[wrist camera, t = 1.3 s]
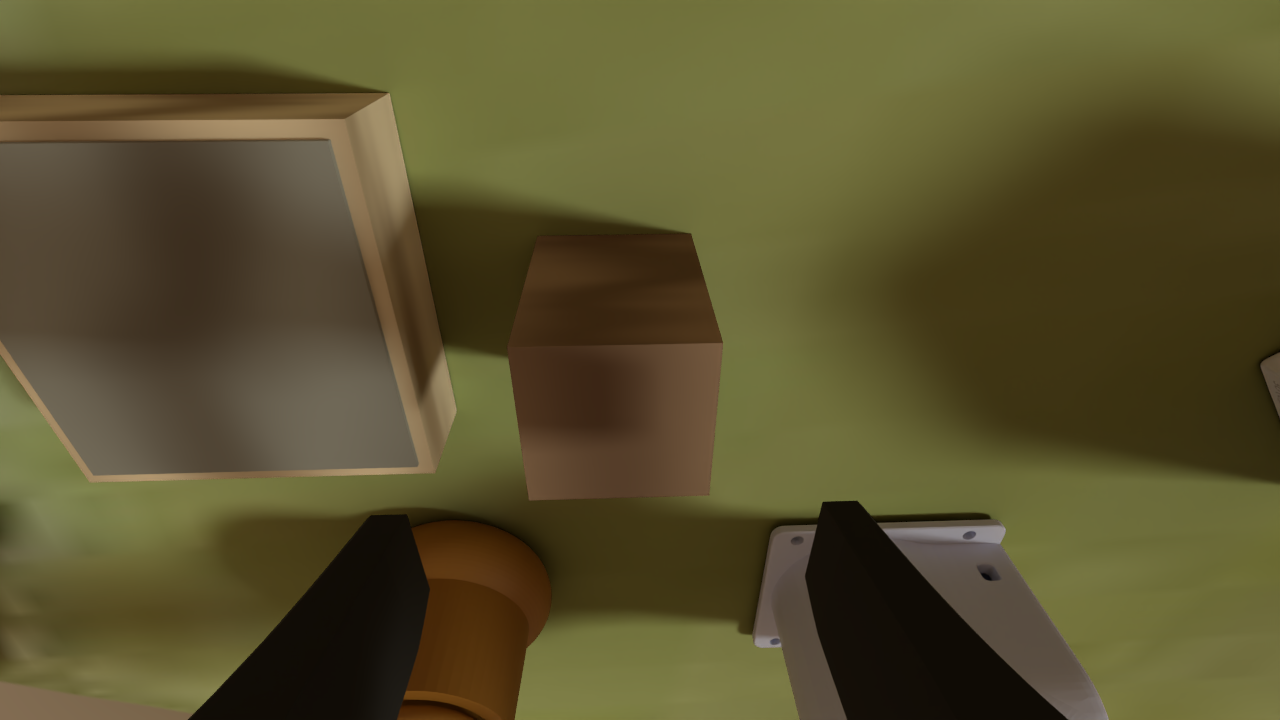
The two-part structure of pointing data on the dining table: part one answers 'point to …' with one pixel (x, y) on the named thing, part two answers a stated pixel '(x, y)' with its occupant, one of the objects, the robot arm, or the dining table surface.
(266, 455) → the wooden framed grey panel
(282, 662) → the robot arm
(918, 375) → the dining table surface
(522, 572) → the ornamental finial
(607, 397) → the walnut block
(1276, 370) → the supplement box
